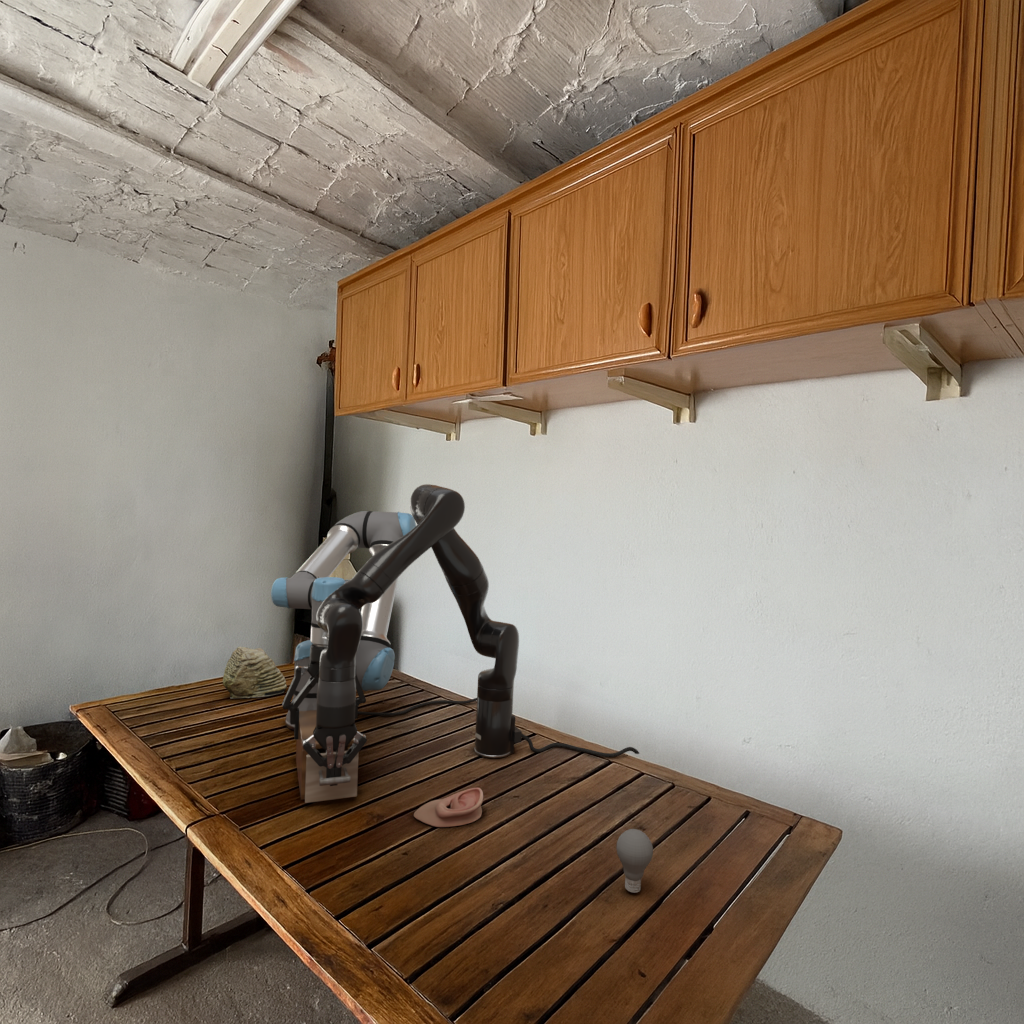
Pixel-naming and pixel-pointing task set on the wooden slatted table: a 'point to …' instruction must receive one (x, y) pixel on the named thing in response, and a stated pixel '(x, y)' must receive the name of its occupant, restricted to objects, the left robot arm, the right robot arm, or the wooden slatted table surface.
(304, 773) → the cabinet
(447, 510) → the right robot arm
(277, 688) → the fossil
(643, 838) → the light bulb
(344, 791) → the drawer
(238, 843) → the wooden slatted table surface
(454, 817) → the anatomical model
